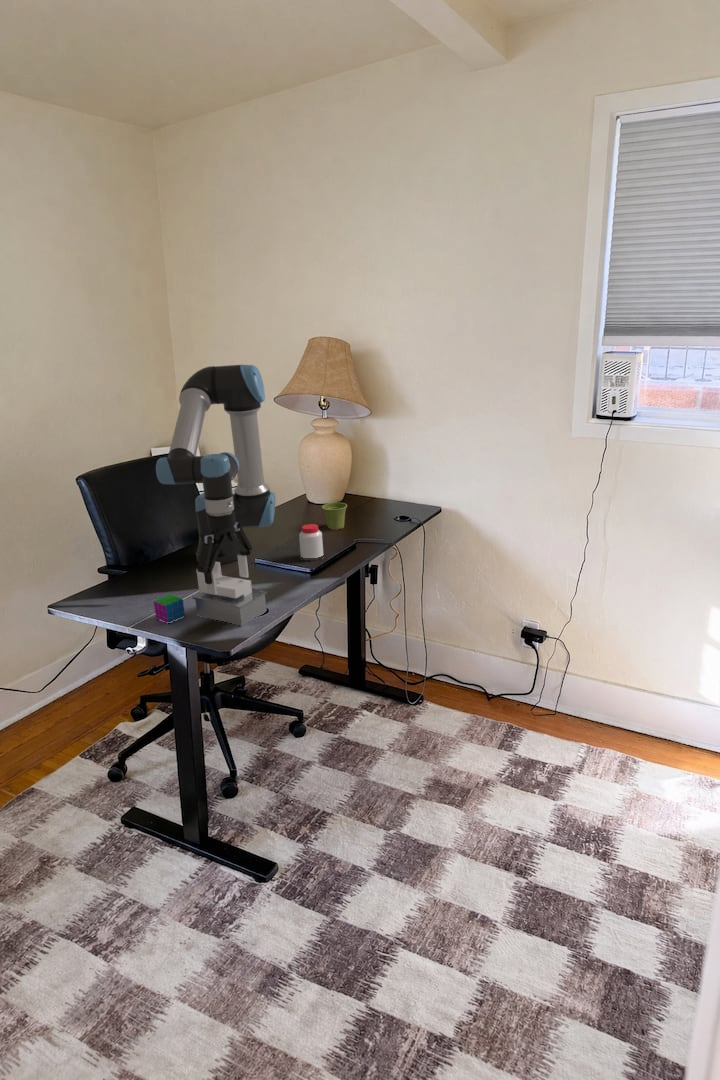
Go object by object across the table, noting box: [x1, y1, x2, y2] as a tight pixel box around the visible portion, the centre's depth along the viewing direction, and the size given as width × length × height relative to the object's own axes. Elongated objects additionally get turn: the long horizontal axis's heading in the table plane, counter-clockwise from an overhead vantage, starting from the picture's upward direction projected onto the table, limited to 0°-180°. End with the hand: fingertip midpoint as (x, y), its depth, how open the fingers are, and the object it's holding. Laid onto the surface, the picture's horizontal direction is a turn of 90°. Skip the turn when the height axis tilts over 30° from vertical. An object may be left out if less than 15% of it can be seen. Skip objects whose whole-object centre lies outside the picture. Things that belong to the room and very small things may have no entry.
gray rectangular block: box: [192, 588, 268, 627], centre depth 206 cm, size 17×12×6 cm
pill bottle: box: [298, 523, 324, 558], centre depth 246 cm, size 8×8×11 cm
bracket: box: [196, 562, 252, 598], centre depth 204 cm, size 13×7×8 cm, turn 61°
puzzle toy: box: [153, 594, 186, 622], centre depth 205 cm, size 6×6×6 cm
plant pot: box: [321, 502, 348, 531], centre depth 277 cm, size 9×9×9 cm
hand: (228, 585), depth 204 cm, fingers open, 13 cm apart
